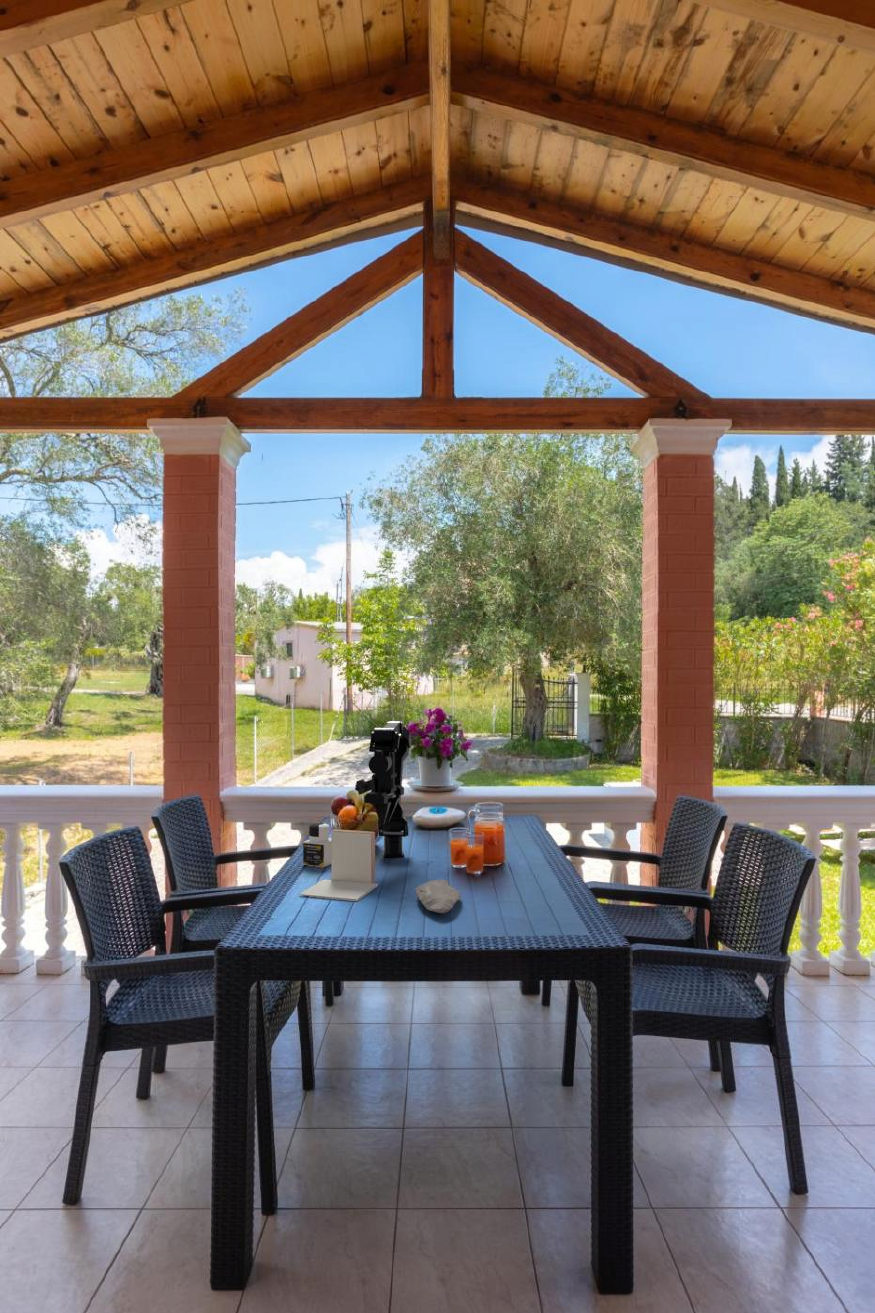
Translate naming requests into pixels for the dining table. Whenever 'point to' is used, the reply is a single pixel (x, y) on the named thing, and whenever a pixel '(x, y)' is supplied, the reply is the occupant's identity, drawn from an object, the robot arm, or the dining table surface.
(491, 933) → the dining table surface
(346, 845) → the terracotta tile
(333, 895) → the cream square plate
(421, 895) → the stone tool
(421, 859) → the dining table surface
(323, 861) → the medicine bottle
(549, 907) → the dining table surface
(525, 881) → the dining table surface
